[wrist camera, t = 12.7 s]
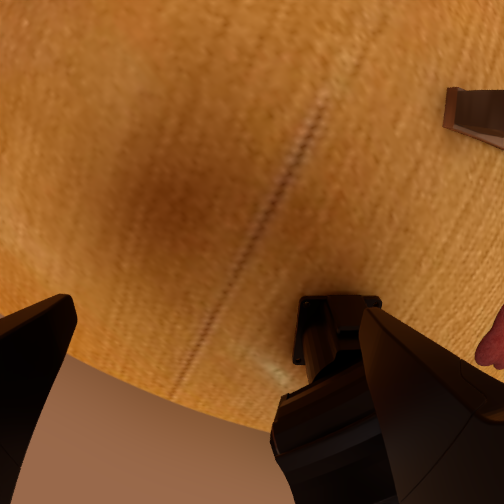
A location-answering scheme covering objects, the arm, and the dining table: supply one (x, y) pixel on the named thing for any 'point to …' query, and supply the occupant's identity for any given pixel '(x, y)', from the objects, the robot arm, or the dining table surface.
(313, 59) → the dining table surface
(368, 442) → the robot arm
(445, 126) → the scraper
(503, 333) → the red spill
